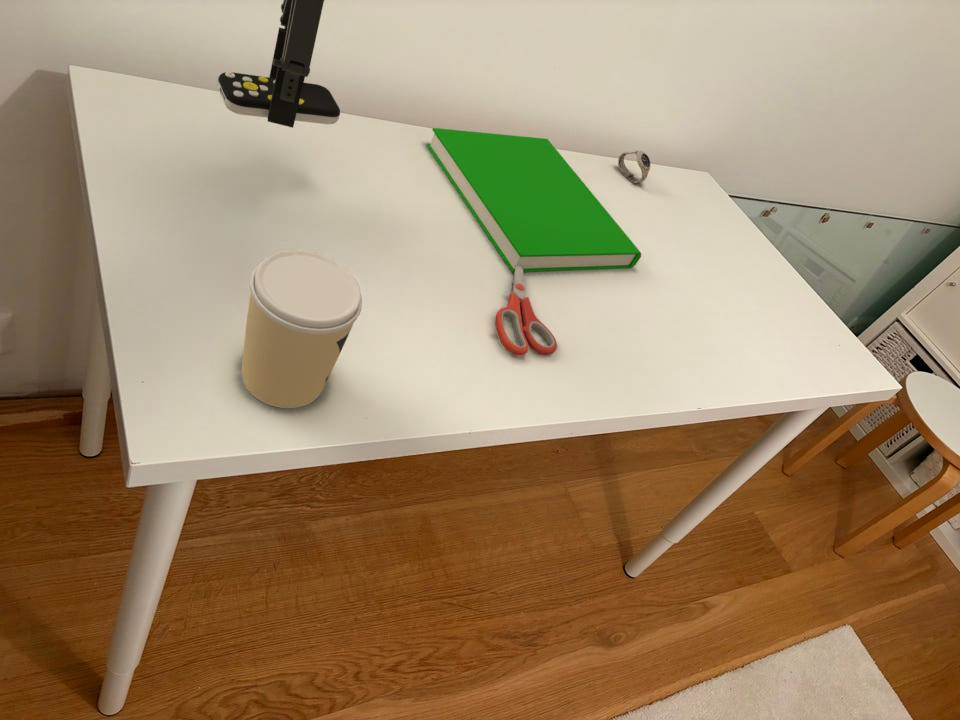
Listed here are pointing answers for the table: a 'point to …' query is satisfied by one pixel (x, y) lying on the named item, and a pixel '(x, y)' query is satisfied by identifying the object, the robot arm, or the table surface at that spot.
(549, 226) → the book
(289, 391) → the coffee cup
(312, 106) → the remote control
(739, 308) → the table surface
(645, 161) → the wristwatch
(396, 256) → the table surface
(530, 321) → the scissors
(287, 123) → the robot arm
